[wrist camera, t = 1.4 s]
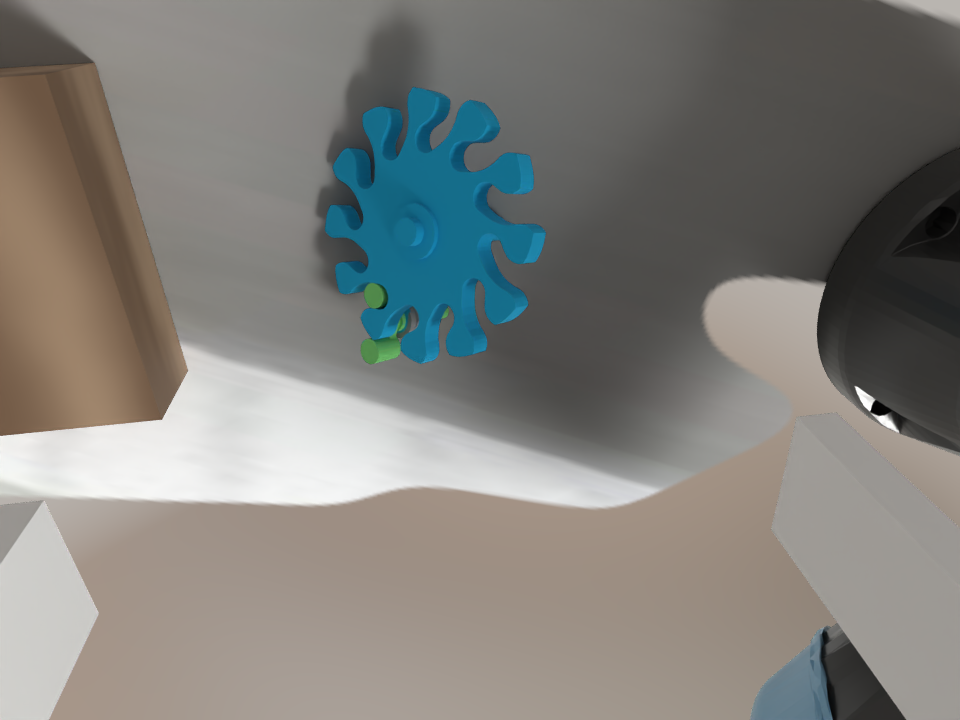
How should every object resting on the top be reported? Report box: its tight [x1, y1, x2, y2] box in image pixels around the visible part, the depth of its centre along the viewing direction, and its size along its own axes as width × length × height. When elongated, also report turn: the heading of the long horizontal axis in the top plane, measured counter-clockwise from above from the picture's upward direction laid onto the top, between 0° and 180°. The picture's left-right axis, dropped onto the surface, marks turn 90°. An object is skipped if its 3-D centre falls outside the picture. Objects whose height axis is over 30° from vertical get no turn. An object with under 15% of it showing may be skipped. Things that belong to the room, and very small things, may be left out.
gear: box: [325, 87, 546, 364], centre depth 27 cm, size 11×6×10 cm
